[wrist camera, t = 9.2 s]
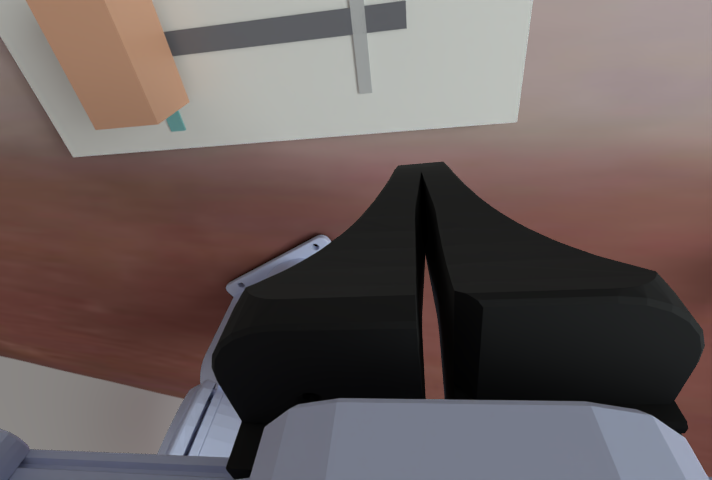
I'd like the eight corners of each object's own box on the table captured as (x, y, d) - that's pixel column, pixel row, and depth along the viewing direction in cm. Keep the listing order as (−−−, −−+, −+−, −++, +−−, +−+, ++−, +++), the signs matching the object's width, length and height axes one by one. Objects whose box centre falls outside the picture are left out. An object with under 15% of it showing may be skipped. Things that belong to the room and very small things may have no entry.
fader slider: (143, -22, 16) (96, -17, 13) (189, 101, 19) (158, 124, 16) (79, -12, 16) (22, -6, 14) (134, 107, 19) (95, 130, 17)
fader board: (544, -174, 13) (558, -186, 12) (509, 111, 19) (517, 122, 18) (-29, -66, 17) (-64, -67, 16) (90, 146, 23) (71, 158, 22)
